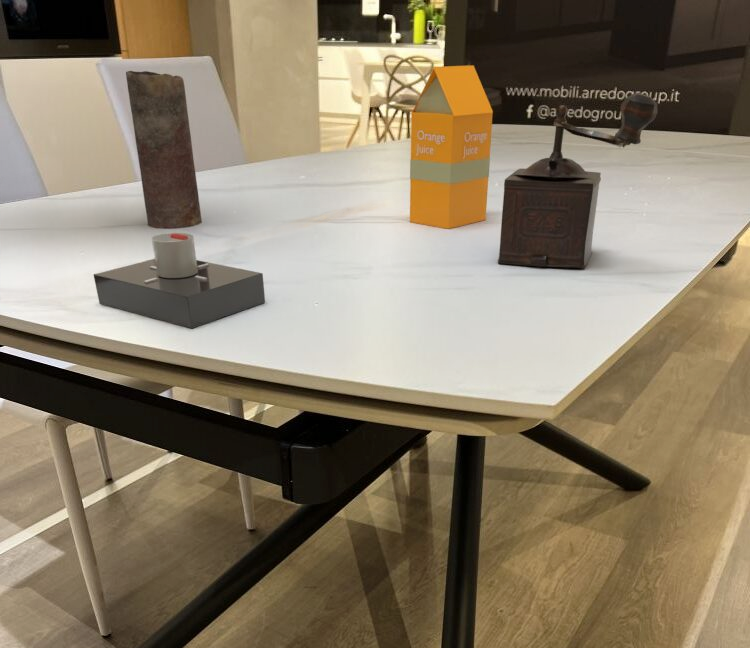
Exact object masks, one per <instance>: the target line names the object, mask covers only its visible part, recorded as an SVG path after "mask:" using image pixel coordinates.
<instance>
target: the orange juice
mask: <svg viewBox="0 0 750 648" xmlns="http://www.w3.org/2000/svg"><path fill="white" fill-rule="evenodd" d="M432 68H433V69H432V71H431V72H430V75H429V77H428V79H427V81H426V83H425V85H424V86H423V89H422V91H421V94H420V95H419V98H418V99H417V102H416V104H415V106H414V107H413V109H412V111H411V112H410V114H411V116H410V120H411V121H410V159H409V160H410V162H409V168H410V170H409V179H410V183H409V185H410V187H409V198H410V199H409V223H413V224H420V225H425V226H430V227H436V228H441V229H447V230H449V229H455V228H458V227H462V226H466V225H470V224H475V223H479V222H483V221H486V220H487V219H486V218H487V203H488V191H489V190H488V189H489V177H490V167H491V166H490V162H491V143H492V128H493V114H494V111H493V109H492V108H493V107H492V106H491V103H490V101H489V98H488V96H487V94H486V91H485V89H484V87H483V85H482V82H481V80H480V78H479V75H478V73H477V70H476V67H475V65H473V64H472V65H449V66H448V65H447V66H444V65H443V66H433V67H432Z"/></svg>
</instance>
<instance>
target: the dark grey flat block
mask: <svg viewBox="0 0 750 648" xmlns="http://www.w3.org/2000/svg"><path fill="white" fill-rule="evenodd" d="M196 261H197V268H198V273H197V274H195V275H193V276H189V277H184V278H163V277H160V276H158V275H157V269H156V263H155V258H152V259H149V260H145V261H141V262H137V263H133V264H129V265H124V266H121V267H117V268H113V269H109V270H106V271H101V272H98V273H94V274H93V279H94V280H93V281H94V284H95V289H96V293H97V299H98V303H99V304H100V305H103V306H107V307H111V308H114V309H118V310H122V311H126V312H130V313H134V314H137V315H141V316H143V317H149V318H152V319H156V320H160V321H163V322H167V323H171V324H174V325H178V326H182V327H185V328H189V329H194V328H197V327H199V326H203V325H205V324H208V323H210V322H214V321H217V320H219V319H222V318H226V317H228V316H230V315H233V314H236V313H240V312H242V311H245V310H247V309H251V308H253V307H256V306H259V305H263V304H265V303H266V295H265V294H266V293H265V284H264V273H263V272H259V271H253V270H248V269H243V268H238V267H234V266H228V265H223V264H218V263H213V262H208V261H203V260H198V259H196Z"/></svg>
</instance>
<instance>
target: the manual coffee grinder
mask: <svg viewBox="0 0 750 648" xmlns="http://www.w3.org/2000/svg"><path fill="white" fill-rule="evenodd" d="M619 109H620V110H619V112H620V115H621V126H620V128H619V129H618V131H617V132H615V134H614V135H612V134H609V133H606V132H601V131H597V130H594V129H589V128H584V127H577V126H575V125H572V124H569V123H568V120H567V119H566V117H567V115H568V112H569V110H568V107H567V106H566V105H563V104H561V105H558V107H557V108H556V109H555V115H556V119H554V121H553V126H554V127H555V131H554V132H555V133H554V141H553V148H552V152H551V154H550V156H549V157H545V158H541V159H539V160H537V161H536V162H533V163H532V164H531V165H529V166H528V167H527V168H518V169H516V170H515V171H514V172H512V173H511V174H510V175H508V176H506V178H505V179H504V182H503V183H504V184H503V200H502V212H501V224H500V239H499V253H498V258H497V263H498V264H499V265H513V266H525V267H537V268H539V267H540V268H548V267H550V268H569V269H571V268H573V269H584V268H585V267H586V266H587V265H588V263H589V262H590V259H591V257H592V252H593V251H592V247H593V237H594V229H595V228H594V227H595V220H596V214H597V213H596V212H597V204H598V198H599V197H598V196H599V189H600V182H601V174H602V172H597V171H586V170H585V169H584V168H583V167H582V166H581V164H579V163H578V162H576V161H574V160H573V159H571V158H567V157H564V156H563V152H562V146H563V140H564V132H565V131H567V132H568V133H570V134H571V135H574V136H578V137H582V138H588V139H592V140H595V141H600V142H604V143H606V144H609V145H612V146H616V147H619V148H621V147H622V148H625V147H626V146H629V145H631V144H632V145H639V144H641V142H642V141H641V134H642V131H643V130H644V129H646V127H647V126H648V125H649V124H650V123H652V122H653V121H654V120H655V119H656V117H657V115H658V112H659V111H658V103H657V102H656V100H654V98H653V97H652V96H650V95H647V94H644V93H641V92H633V93H632V94H631V95H629V96H626V97H625V99H623V101H622V103H620V108H619Z"/></svg>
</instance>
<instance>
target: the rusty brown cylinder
mask: <svg viewBox="0 0 750 648" xmlns="http://www.w3.org/2000/svg"><path fill="white" fill-rule="evenodd" d="M125 77H126V85H127V91H128V98H129V105H130V111H131V112H130V113H131V116H132V117H131V119H132V124H133V131H134V132H133V133H134V138H135V146H136V152H137V157H138V158H137V159H138V165H139V172H140V179H141V186H142V193H143V200H144V207H145V214H146V220H147V226H148V227H150V228H153V229H160V230H172V229H174V230H175V229H185V228H191V227H195V226H198V225H201V223H202V221H203V220H202V212H201V205H200V197H199V191H198V182H197V174H196V167H195V163H194V162H195V159H194V152H193V144H192V136H191V135H192V134H191V126H190V120H189V112H188V104H187V96H186V95H187V94H186V89H185V88H186V87H185V80H184V78H183V77H182V76H180V75H173V74H169V73H162V74H161V73H157V72H153V71H148V70H144V71H133V70H128V71H126V72H125Z"/></svg>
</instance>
